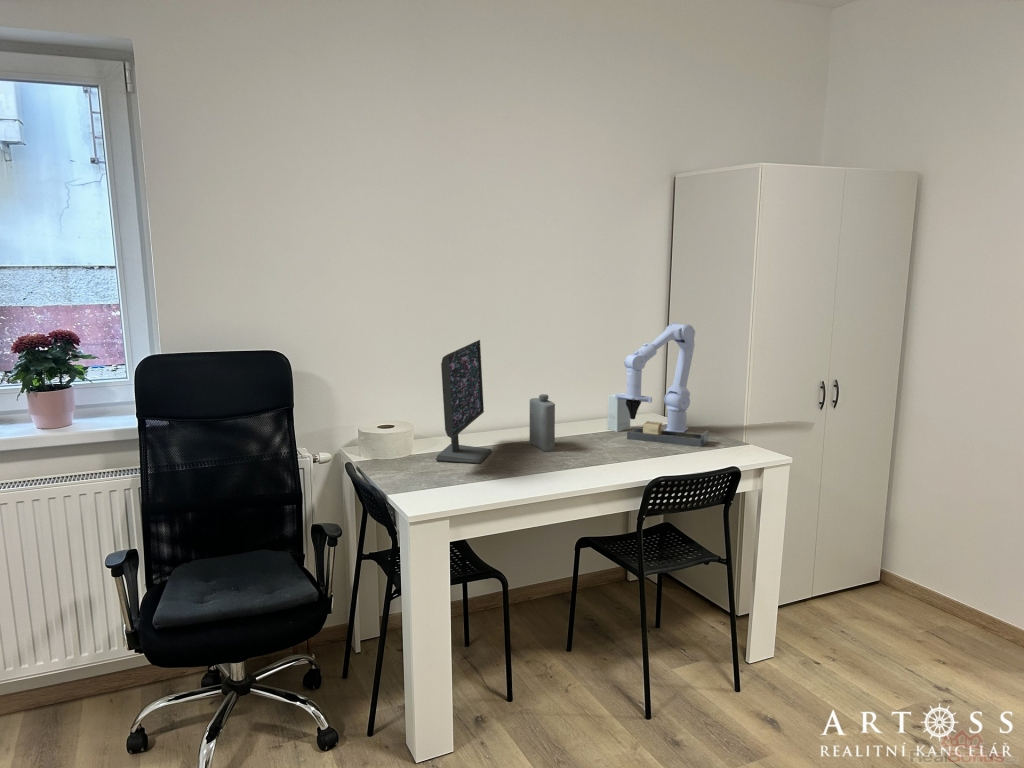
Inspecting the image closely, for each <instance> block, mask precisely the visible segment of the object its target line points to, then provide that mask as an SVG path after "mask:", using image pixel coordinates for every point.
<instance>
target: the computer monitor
mask: <svg viewBox="0 0 1024 768" xmlns="http://www.w3.org/2000/svg"><path fill="white" fill-rule="evenodd" d="M481 351H482V348H481V339H478V340H476V341H474V342H472V343H470V344H467V345H466V346H463V347H461V348H459V349H457V350H454V351H452V352H450V353H447V354H446V355H444V356H443V357H442V359H441V363H440V366H441V367H440V368H441V382H442V383H441V384H442V386H441V387H442V399H443V400H442V401H443V414H444V415H443V416H444V417H443V419H444V430H445V434H446V436H447V437H449V438H450V444H449V445H447V447H446V446H445V448H444V449H443V450H442V451H440V453H438V454H437V456H436V458H435V460H436V461H437V462H443V463H445V462H446V463H459V462H462V464H476V463H479V464H480V463H482V462H483V460H484V459H485V458H486V457H487V456H488V455H489V454H490V452H492V449H491V448H487V447H486V448H485V447H479V446H472V445H464V444H459V443H460V442H459V434H461V432H462V431H464V430H465V429H466V428H467V427H468V426H470V425H471V423H473V422H474V421H476V420H477V418H479V417H480V416H481V415H482V414H483V413H484V412H485V410H484V391H483V372H482V370H483V369H482V355H481V353H482V352H481Z"/></svg>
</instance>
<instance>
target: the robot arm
mask: <svg viewBox="0 0 1024 768" xmlns="http://www.w3.org/2000/svg"><path fill="white" fill-rule="evenodd" d="M695 336H696V331H695V329H694V327H693V326H692V325H691V324H685V323H684V324H683V323H677V322H672V323H669V325H667V326H666V327H665V330H663V332H662V333H660V335H658V337H656V338H655V339H654V340H652V342H651V343H650V342H647V343H643V344H642V346H641V347H640V348H639V349H638V350H635V351H634V353H632V354H628V355H627V356H626V357H625V360H624V361H623V365H624V367H625V369H626V393H625V394H626V395H625V394H617V393H615V394H616V395H615V400H626V405H627V407H628V410H629V413H630V420H636V416H637V413H638V410H639V408H640V405H641V404H642V402H643V403H644V402H645V403H653V396H646V395H642V378H643V377H642V376H643V375H642V372H643V371H642V370H643V369H644V368H645V366H646V364H647V363H648V361H650V359H652V358H654V356H655V355H657V352H658V350H659V349H660V348H662V347H663V346H665V345H666V344H668V343H669V342H670V341H672V340H673V341H674V342H675V343H676V344H677V345H678V347H679V350H678V351H679V352H678V357H677V361H676V367H675V372H674V376H673V382H672V385H670V386H669V387H668V388H667V391H666V394H665V395H664V397H663V398H664V399H663V402H664V405H665V406H666V409H667V419H666V420H667V421H666V422H667V423H666V428H665V429H664V430H665V431H675V432H685V433H686V432H687V430H688V429H689V427H687V410H688V408H689V407H690V404H691V398H690V395H691V392H690V391H689V389H688V388H687V385H688V380H689V375H690V369H691V365H692V360H693V355H694V349H695V346H696V345H695Z"/></svg>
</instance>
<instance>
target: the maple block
mask: <svg viewBox="0 0 1024 768" xmlns="http://www.w3.org/2000/svg"><path fill="white" fill-rule="evenodd" d="M642 428H643V433H648V434H658V435H662V430H663V422H661V421H660V422H659V421H645V422H644V423H642Z"/></svg>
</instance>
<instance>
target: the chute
mask: <svg viewBox="0 0 1024 768" xmlns="http://www.w3.org/2000/svg"><path fill="white" fill-rule="evenodd" d="M709 435H710V431H709V430H705V431H703V433H693V432H692V433H691V432H686V431H685V432H675V431H665V429H664V430H663V429H662V435H658V434H648V433H643V427H632V431H629V430H628V431H627V432H626V439H627V440H634V441H643V442H644V441H645V442H654V443H663V444H671V445H672V444H673V445H681V446H682V445H683V446H688V447H689V446H690V447H701V448H705V446H706V445H707V444H708V443H709V440H710V439H709Z"/></svg>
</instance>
